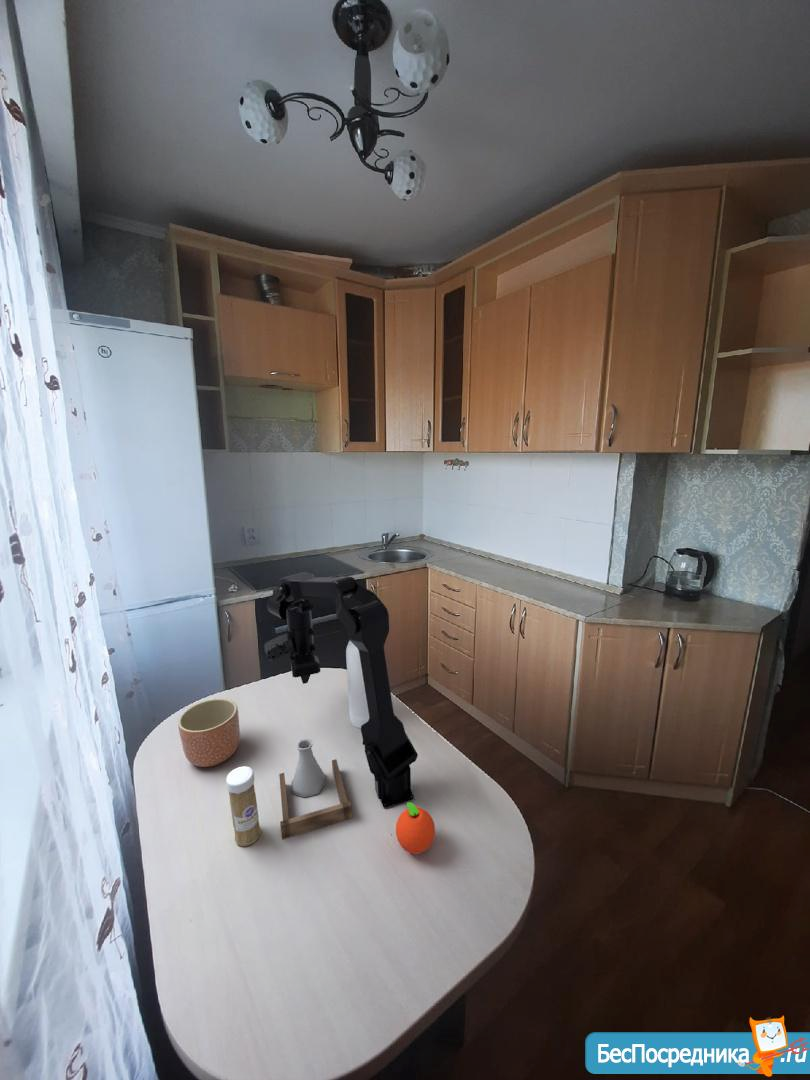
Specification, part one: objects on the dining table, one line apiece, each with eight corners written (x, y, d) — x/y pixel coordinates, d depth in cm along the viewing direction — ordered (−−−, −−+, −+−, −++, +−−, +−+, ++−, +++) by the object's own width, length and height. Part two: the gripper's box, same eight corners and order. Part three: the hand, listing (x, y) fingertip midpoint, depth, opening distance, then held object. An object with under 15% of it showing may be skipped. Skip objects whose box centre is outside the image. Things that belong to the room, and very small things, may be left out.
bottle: (348, 730, 108) (341, 618, 100) (351, 710, 115) (344, 605, 108) (380, 728, 108) (375, 617, 101) (381, 709, 115) (376, 604, 108)
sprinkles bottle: (246, 851, 77) (237, 788, 73) (229, 840, 79) (220, 778, 76) (266, 831, 80) (258, 770, 77) (249, 821, 83) (241, 761, 79)
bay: (339, 770, 95) (338, 758, 94) (352, 818, 83) (351, 805, 82) (278, 786, 91) (276, 774, 90) (282, 839, 79) (280, 826, 78)
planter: (243, 765, 97) (237, 722, 94) (182, 782, 93) (174, 738, 90) (242, 731, 108) (237, 692, 106) (187, 745, 104) (180, 705, 101)
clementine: (389, 831, 80) (387, 799, 78) (423, 818, 82) (423, 787, 81) (404, 870, 73) (403, 836, 71) (441, 855, 75) (441, 822, 73)
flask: (329, 771, 94) (325, 732, 92) (321, 798, 87) (317, 756, 85) (296, 771, 95) (292, 732, 92) (286, 798, 88) (281, 756, 85)
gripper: (263, 615, 109) (269, 670, 113) (265, 648, 92) (272, 712, 96) (308, 608, 113) (312, 662, 117) (318, 639, 96) (323, 701, 99)
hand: (305, 682), depth 107 cm, fingers closed
